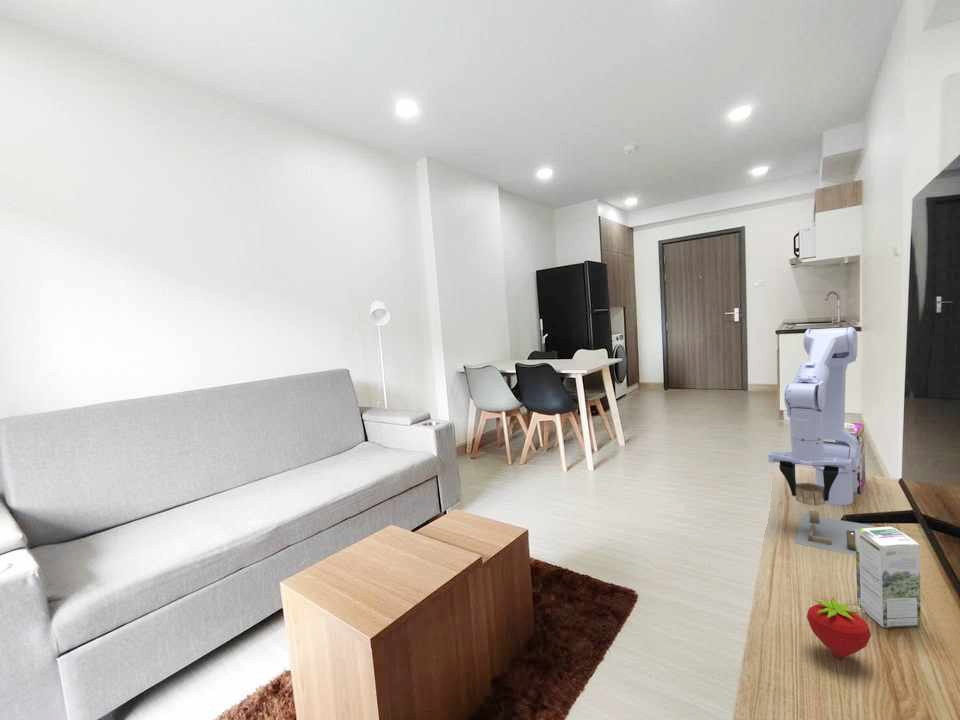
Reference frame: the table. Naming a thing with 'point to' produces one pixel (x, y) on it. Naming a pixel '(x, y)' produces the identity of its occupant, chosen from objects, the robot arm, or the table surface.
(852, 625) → the strawberry
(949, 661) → the table surface
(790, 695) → the table surface
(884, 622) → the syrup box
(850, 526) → the board
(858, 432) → the candy bar box
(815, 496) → the ring
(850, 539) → the end peg
